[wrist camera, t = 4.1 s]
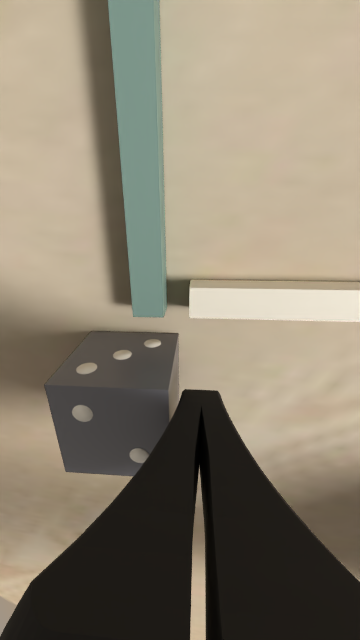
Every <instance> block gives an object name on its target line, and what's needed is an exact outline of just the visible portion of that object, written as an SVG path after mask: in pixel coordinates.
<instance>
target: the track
mask: <svg viewBox="0 0 360 640" xmlns="http://www.w3.org/2000/svg"><path fill="white" fill-rule="evenodd" d="M108 9H109V22H110V34H111V47H112V59H113V72H114V84H115V97H116V109H117V122H118V134H119V147H120V159H121V172H122V185H123V197H124V210H125V222H126V235H127V247H128V260H129V272H130V285H131V297H132V310H133V317H164V314H165V311H166V308H167V284H166V244H165V205H164V165H163V126H162V86H161V47H160V7H159V0H108ZM189 318H212V319H256V320H300V321H344V322H360V282H331V281H255V280H191V281H190V295H189Z"/></svg>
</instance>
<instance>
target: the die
mask: <svg viewBox="0 0 360 640" xmlns="http://www.w3.org/2000/svg"><path fill="white" fill-rule="evenodd" d="M44 386H45V390H46V394H47V398H48V402H49V406H50V410H51V414H52V418H53V422H54V426H55V430H56V435H57V439H58V443H59V447H60V451H61V455H62V459H63V463H64V467H65V471H66V472H75V473H91V474H106V475H121V476H134V475H135V474H136V473H137V471H138V470H139V469H140V467H141V466H142V465H143V463H144V462H145V461H146V459H147V458H148V456H149V455H150V453H151V452H152V450H153V449H154V447H155V446H156V444H157V442H158V441H159V439H160V438H161V436H162V435H163V433H164V431H165V429H166V428H167V426H168V424H169V422H170V420H171V418H172V416H173V414H174V412H175V410H176V408H177V406H178V403H179V338H178V334H176V333H140V332H104V331H91V332H90V333H89V334H88V336H87V337H86V338H85V339H84V340H83V341H82V342H81V344H80V345H79V346H78V347H77V348H76V349H75V350H74V351H73V353H72V354H71V355H70V356H69V357H68V358H67V359H66V361H65V362H64V363H63V364H62V365H61V366H60V367H59V369H58V370H57V371H56V372H55V373H54V374H53V375H52V376H51V378H50V379H49V380H48V381H47V382H46V383H45V384H44Z"/></svg>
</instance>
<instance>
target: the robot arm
mask: <svg viewBox="0 0 360 640" xmlns="http://www.w3.org/2000/svg"><path fill="white" fill-rule="evenodd" d="M199 465H200V477H201V489H202V501H203V514H204V526H205V570H206V640H360V582H359V581H358V580H357V579H356V578H355V577H354V576H353V575H352V574H351V573H350V572H349V571H348V570H347V569H346V568H345V567H344V566H343V565H342V564H341V563H340V562H339V561H338V560H337V559H336V557H335V556H334V555H333V554H332V553H331V552H330V551H329V550H328V549H327V548H326V547H325V546H324V545H323V544H322V543H321V542H320V541H319V540H318V538H317V537H316V536H315V535H314V534H313V533H312V532H311V530H310V529H309V528H308V527H307V526H306V525H305V524H304V522H303V521H302V520H301V519H300V518H299V517H298V515H297V514H296V513H295V512H294V511H293V510H292V509H291V507H290V506H289V505H288V504H287V503H286V501H285V500H284V499H283V498H282V496H281V495H280V494H279V493H278V491H277V490H276V489H275V488H274V486H273V485H272V484H271V482H270V481H269V479H268V478H267V477H266V475H265V474H264V473H263V471H262V470H261V468H260V467H259V466H258V464H257V463H256V461H255V460H254V458H253V457H252V455H251V453H250V452H249V450H248V449H247V447H246V446H245V444H244V442H243V441H242V439H241V437H240V435H239V434H238V432H237V430H236V428H235V426H234V425H233V423H232V421H231V419H230V417H229V415H228V413H227V411H226V408H225V406H224V404H223V401H222V399H221V396H220V393H219V392H218V391H212V390H187V389H185V390H184V391H183V392H182V395H181V398H180V401H179V403H178V406H177V408H176V410H175V412H174V414H173V416H172V418H171V420H170V422H169V424H168V426H167V428H166V429H165V431H164V433H163V435H162V436H161V438H160V439H159V441H158V442H157V444H156V446H155V447H154V449H153V450H152V452H151V453H150V455H149V456H148V458H147V459H146V461H145V462H144V463H143V465H142V466H141V467H140V469H139V470H138V471H137V473H136V474H135V475H134V477H133V478H132V479H131V480H130V482H129V483H128V484H127V485H126V486H125V488H124V489H123V490H122V491H121V493H120V494H119V495H118V496H117V497H116V498H115V500H114V501H113V502H112V503H111V504H110V505H109V506H108V507H107V508H106V509H105V511H104V512H103V513H102V514H101V515H100V516H99V517H98V518H97V519H96V520H95V521H94V522H93V523H92V524H91V525H90V526H89V527H88V528H87V529H86V530H85V532H84V533H83V534H82V535H81V536H80V537H79V538H78V539H77V540H76V541H75V542H74V543H72V544H71V545H70V546H69V547H68V548H67V549H66V550H65V551H64V552H63V553H62V554H61V555H60V556H58V557H57V558H56V559H55V560H54V561H53V562H52V563H51V564H50V565H49V566H48V567H47V568H46V569H44V570H43V571H42V572H41V573H40V574H39V575H38V576H37V577H36V578H35V579H34V580H33V581H32V582H31V583H30V585H29V586H28V588H27V590H26V591H25V593H24V595H23V596H22V598H21V600H20V601H19V603H18V605H17V607H16V609H15V611H14V612H13V614H12V616H11V618H10V619H9V621H8V623H7V625H6V626H5V628H4V630H3V632H2V634H1V636H0V640H190V617H191V577H192V539H193V524H194V514H195V504H196V494H197V483H198V473H199Z"/></svg>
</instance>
